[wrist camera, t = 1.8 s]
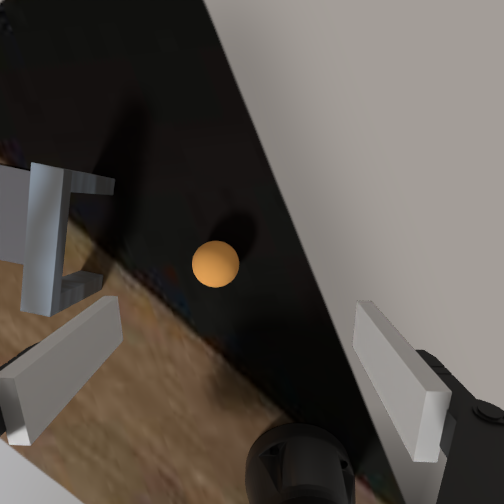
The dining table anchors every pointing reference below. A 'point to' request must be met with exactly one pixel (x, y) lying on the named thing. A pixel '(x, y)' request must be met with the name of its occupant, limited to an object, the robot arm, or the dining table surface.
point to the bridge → (55, 240)
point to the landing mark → (13, 213)
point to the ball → (215, 263)
